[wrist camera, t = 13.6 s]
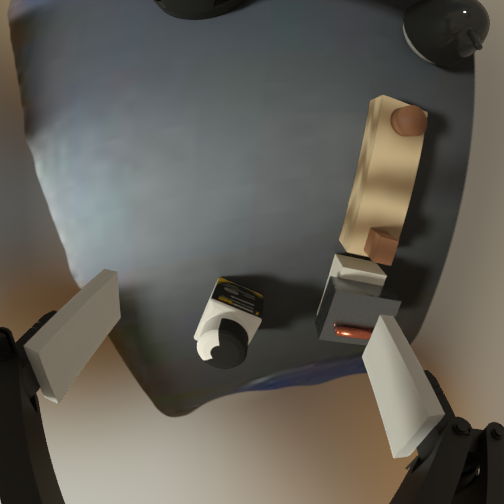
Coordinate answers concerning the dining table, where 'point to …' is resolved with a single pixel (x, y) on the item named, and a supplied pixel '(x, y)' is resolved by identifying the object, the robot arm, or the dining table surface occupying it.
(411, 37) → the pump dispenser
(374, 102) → the cream wooden plank
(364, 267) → the block
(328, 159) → the dining table surface
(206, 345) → the medicine bottle
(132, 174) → the dining table surface
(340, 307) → the lever cap
